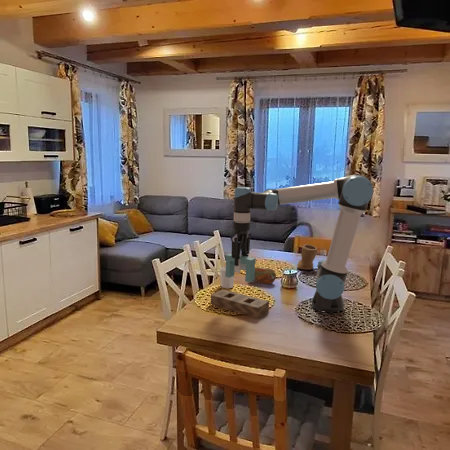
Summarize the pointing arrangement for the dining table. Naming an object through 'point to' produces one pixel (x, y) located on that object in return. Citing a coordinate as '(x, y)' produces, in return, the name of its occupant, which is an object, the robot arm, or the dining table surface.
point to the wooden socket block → (240, 303)
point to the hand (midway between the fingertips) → (240, 270)
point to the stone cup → (307, 257)
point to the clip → (246, 260)
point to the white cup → (226, 279)
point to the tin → (264, 275)
